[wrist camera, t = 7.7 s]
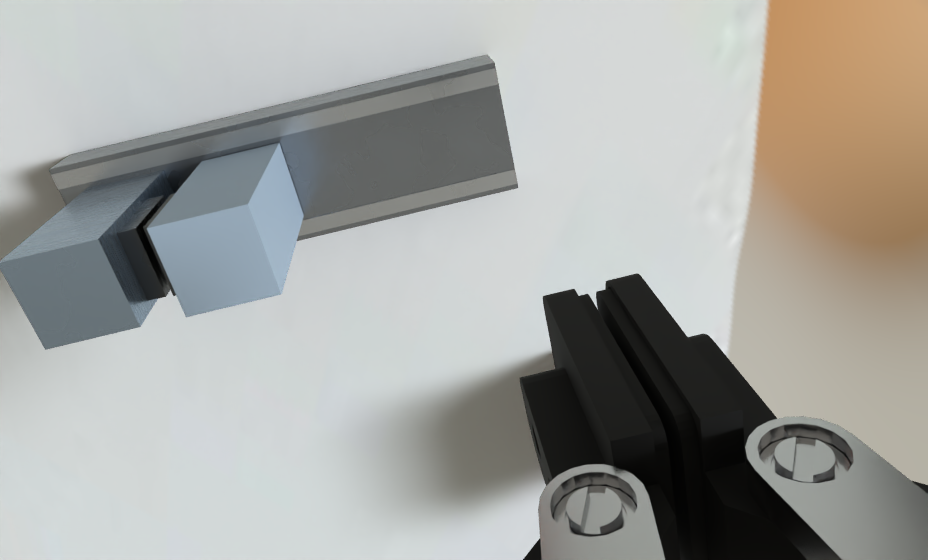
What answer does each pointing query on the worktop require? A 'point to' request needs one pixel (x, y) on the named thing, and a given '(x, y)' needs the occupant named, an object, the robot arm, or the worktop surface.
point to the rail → (311, 169)
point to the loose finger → (228, 231)
